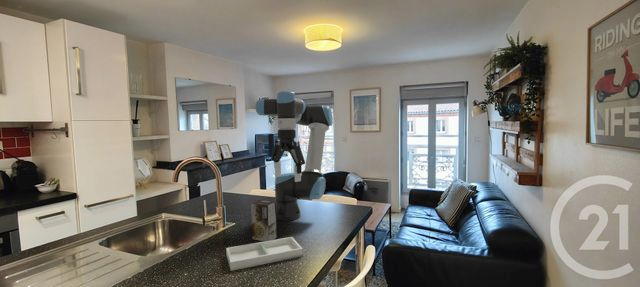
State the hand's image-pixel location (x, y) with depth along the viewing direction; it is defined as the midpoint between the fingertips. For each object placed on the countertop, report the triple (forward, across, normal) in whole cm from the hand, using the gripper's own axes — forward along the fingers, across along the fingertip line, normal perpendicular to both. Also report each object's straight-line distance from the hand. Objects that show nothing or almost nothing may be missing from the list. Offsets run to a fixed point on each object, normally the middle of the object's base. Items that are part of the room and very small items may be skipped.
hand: (287, 179), depth 125 cm
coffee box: (+27, -9, -6) cm, 29 cm away
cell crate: (+26, +6, -16) cm, 31 cm away
